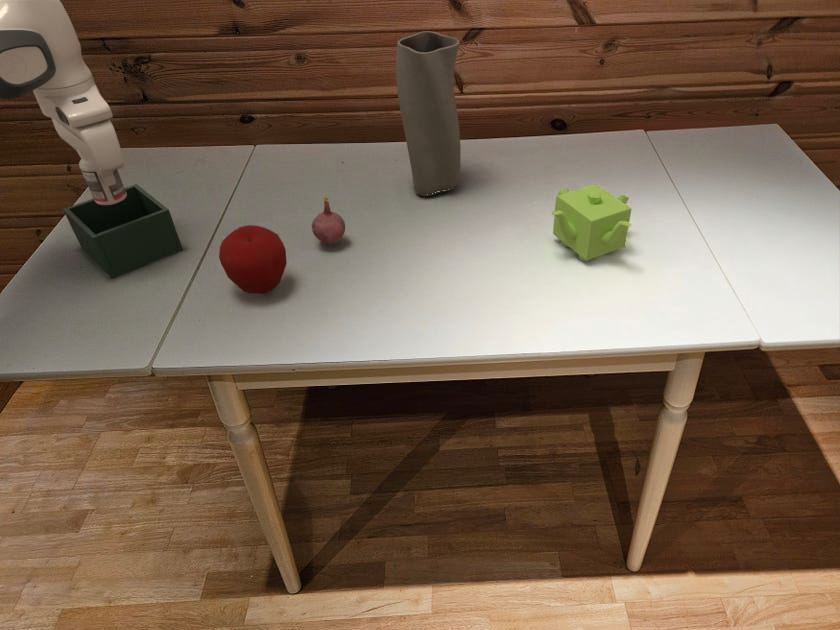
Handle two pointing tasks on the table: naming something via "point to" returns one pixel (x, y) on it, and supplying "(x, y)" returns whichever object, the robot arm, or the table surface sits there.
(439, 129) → the vase
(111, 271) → the bin
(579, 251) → the green peg cube
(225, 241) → the apple
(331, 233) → the vegetable
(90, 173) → the pill bottle
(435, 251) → the table surface
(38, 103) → the robot arm
